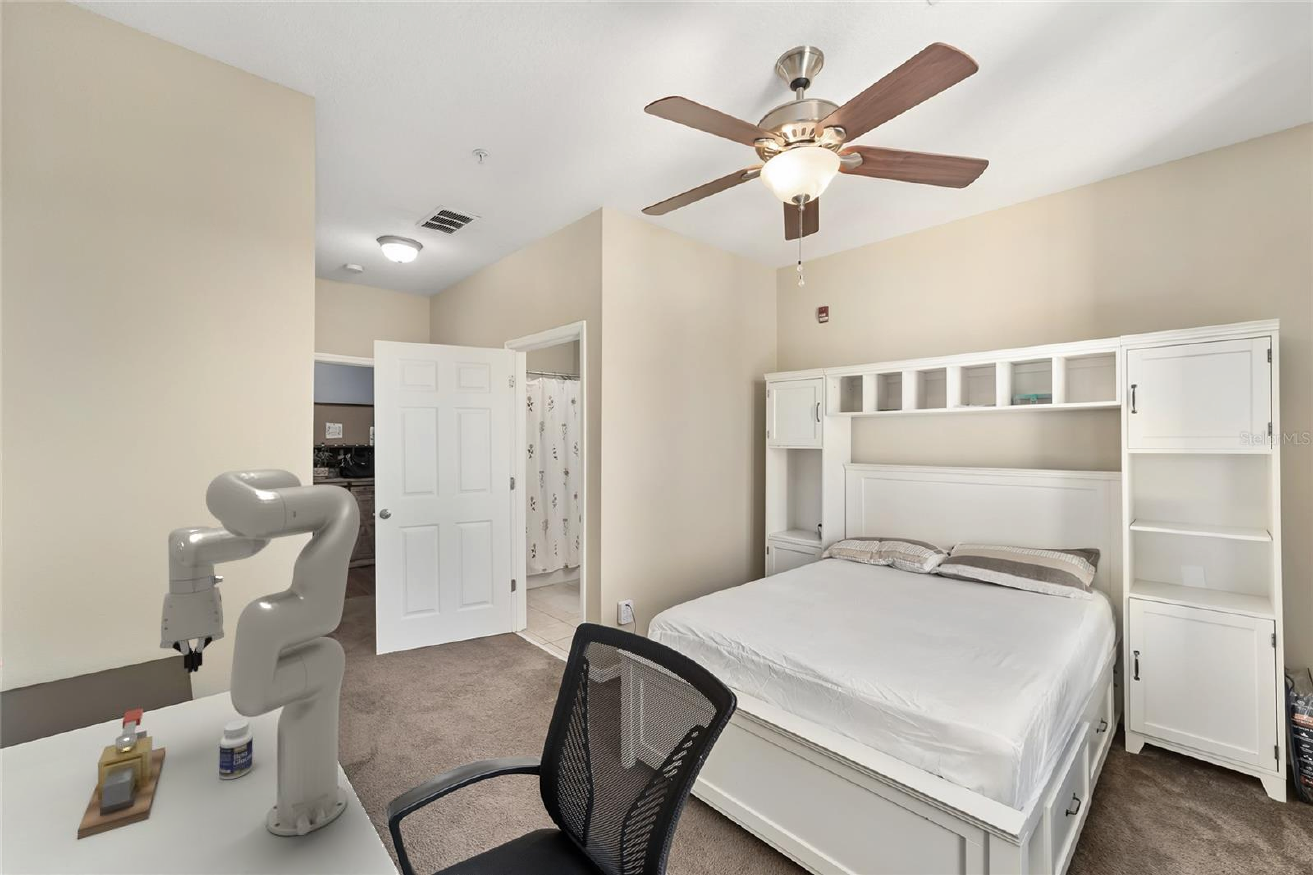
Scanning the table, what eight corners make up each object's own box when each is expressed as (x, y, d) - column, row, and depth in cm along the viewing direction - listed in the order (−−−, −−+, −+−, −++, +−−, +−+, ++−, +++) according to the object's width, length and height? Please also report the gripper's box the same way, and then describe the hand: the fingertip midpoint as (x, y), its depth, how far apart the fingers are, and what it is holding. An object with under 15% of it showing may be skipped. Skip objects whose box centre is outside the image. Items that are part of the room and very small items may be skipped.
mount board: (148, 818, 101) (148, 810, 101) (77, 839, 96) (77, 830, 96) (165, 754, 121) (165, 747, 121) (107, 768, 116) (107, 761, 116)
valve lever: (136, 748, 108) (136, 737, 108) (114, 753, 106) (114, 742, 106) (144, 717, 119) (144, 708, 119) (124, 722, 117) (124, 712, 117)
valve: (141, 806, 102) (141, 769, 102) (89, 821, 98) (89, 782, 98) (156, 753, 118) (157, 721, 118) (112, 764, 115) (112, 731, 114)
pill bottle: (234, 782, 112) (234, 733, 112) (212, 778, 113) (212, 730, 113) (259, 766, 117) (259, 719, 117) (237, 762, 118) (237, 716, 118)
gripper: (235, 576, 129) (237, 656, 129) (148, 587, 120) (149, 673, 120) (235, 583, 122) (236, 667, 123) (142, 595, 114) (144, 686, 114)
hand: (193, 670), depth 121 cm, fingers closed
